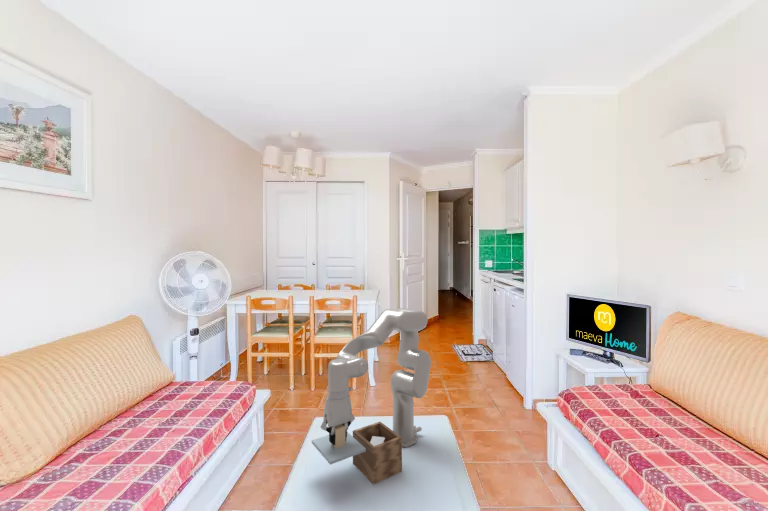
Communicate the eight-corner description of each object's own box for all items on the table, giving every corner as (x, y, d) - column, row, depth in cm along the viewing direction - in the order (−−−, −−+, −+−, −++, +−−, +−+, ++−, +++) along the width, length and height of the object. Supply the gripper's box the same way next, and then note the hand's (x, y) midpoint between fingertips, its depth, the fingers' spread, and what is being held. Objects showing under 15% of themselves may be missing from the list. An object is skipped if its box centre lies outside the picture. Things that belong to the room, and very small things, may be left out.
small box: (381, 474, 133) (381, 448, 133) (367, 473, 134) (367, 446, 134) (385, 462, 141) (385, 437, 141) (372, 460, 142) (372, 435, 142)
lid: (344, 434, 141) (344, 412, 141) (365, 454, 127) (365, 429, 127) (311, 446, 133) (311, 422, 133) (330, 468, 119) (330, 441, 119)
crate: (380, 452, 148) (380, 421, 148) (401, 471, 135) (401, 437, 135) (352, 463, 140) (352, 430, 140) (373, 484, 128) (373, 448, 127)
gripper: (352, 385, 138) (352, 430, 138) (313, 395, 128) (313, 443, 128) (362, 391, 131) (362, 439, 132) (321, 402, 122) (321, 453, 122)
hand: (338, 441), depth 130 cm, fingers closed on lid, 4 cm apart
